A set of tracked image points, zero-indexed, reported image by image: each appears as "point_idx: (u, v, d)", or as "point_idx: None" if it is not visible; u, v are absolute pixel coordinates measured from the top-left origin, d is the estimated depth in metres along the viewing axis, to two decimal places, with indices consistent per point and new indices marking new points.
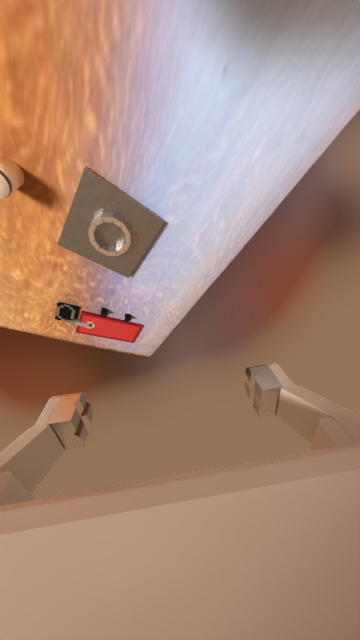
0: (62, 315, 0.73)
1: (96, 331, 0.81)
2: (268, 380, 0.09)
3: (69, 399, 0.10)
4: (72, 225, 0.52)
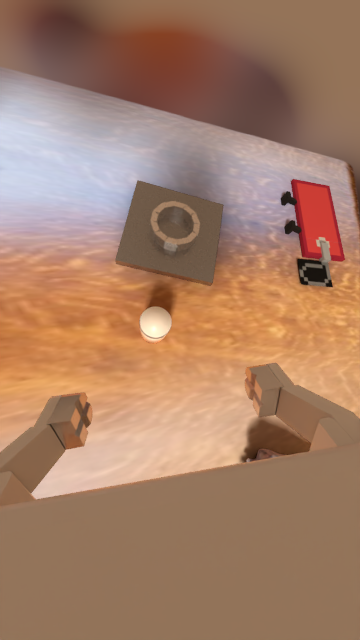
0: (322, 277, 0.50)
1: (330, 234, 0.53)
2: (268, 380, 0.09)
3: (69, 399, 0.10)
4: (182, 268, 0.43)
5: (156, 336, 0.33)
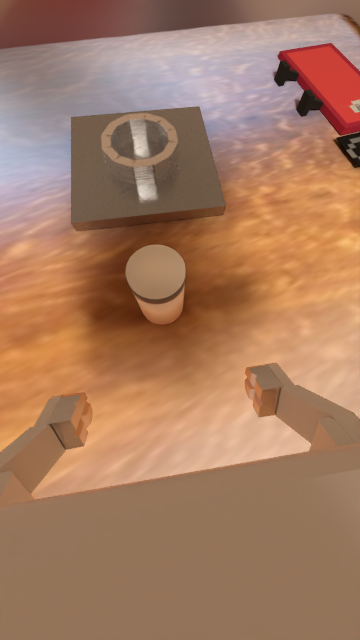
0: None
1: None
2: (268, 380, 0.09)
3: (69, 399, 0.10)
4: (172, 202, 0.28)
5: (165, 294, 0.17)
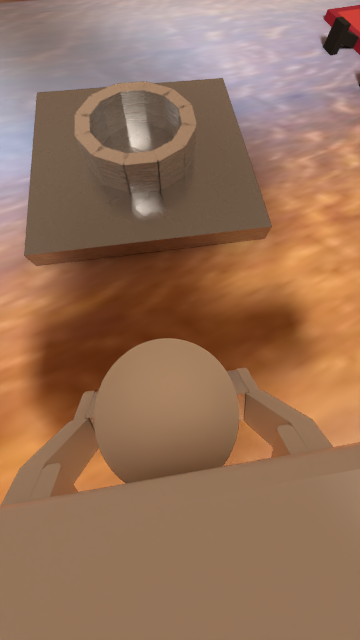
0: None
1: None
2: (235, 385, 0.09)
3: None
4: (187, 220, 0.18)
5: None
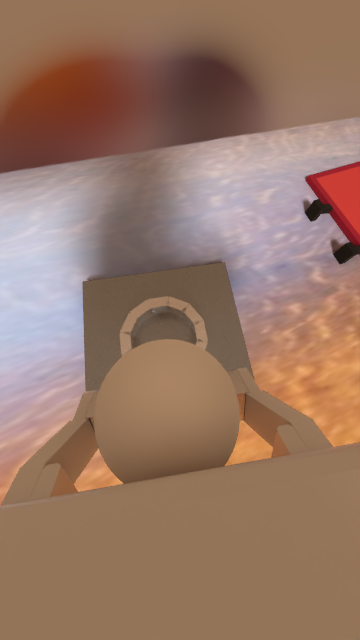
0: None
1: None
2: (235, 385, 0.09)
3: None
4: None
5: None
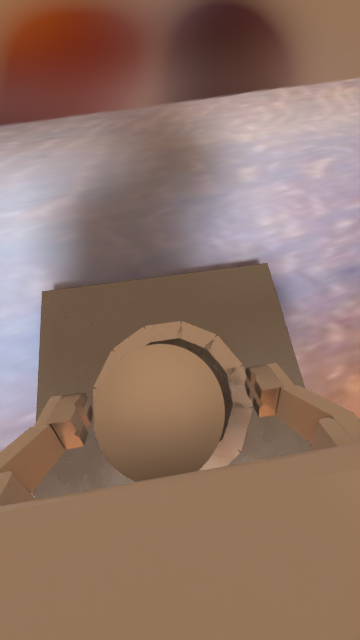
0: None
1: None
2: (268, 380, 0.09)
3: (69, 399, 0.10)
4: None
5: None
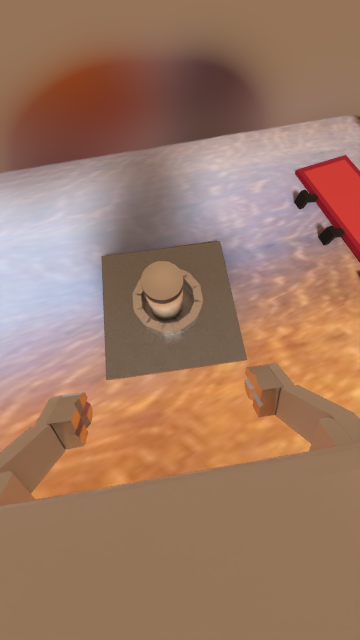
0: None
1: None
2: (269, 380, 0.09)
3: (69, 399, 0.10)
4: (197, 355, 0.30)
5: (168, 296, 0.24)
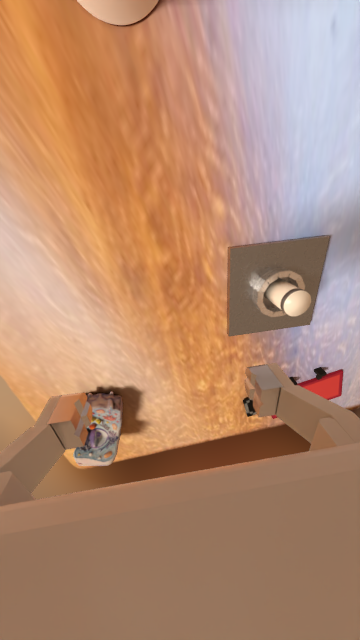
0: (253, 409, 0.65)
1: None
2: (268, 380, 0.09)
3: (69, 399, 0.10)
4: (236, 309, 0.46)
5: (285, 308, 0.38)
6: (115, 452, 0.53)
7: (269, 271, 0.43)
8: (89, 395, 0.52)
